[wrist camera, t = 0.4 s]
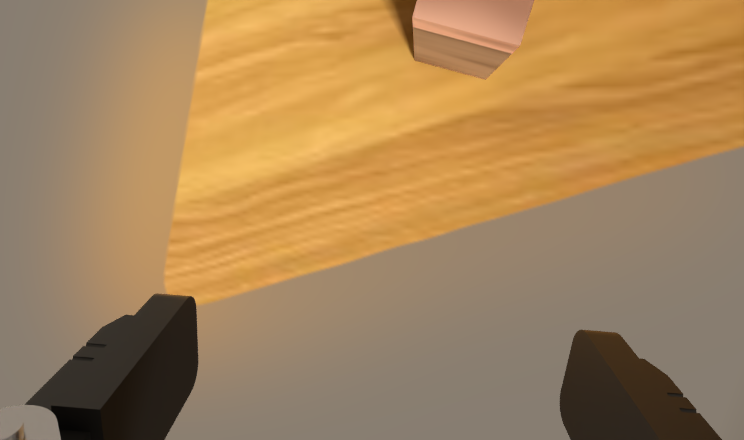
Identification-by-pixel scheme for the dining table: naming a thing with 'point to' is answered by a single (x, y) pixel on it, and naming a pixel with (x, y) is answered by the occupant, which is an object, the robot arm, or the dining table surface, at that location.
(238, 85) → the dining table surface
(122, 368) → the robot arm
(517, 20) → the walnut block
